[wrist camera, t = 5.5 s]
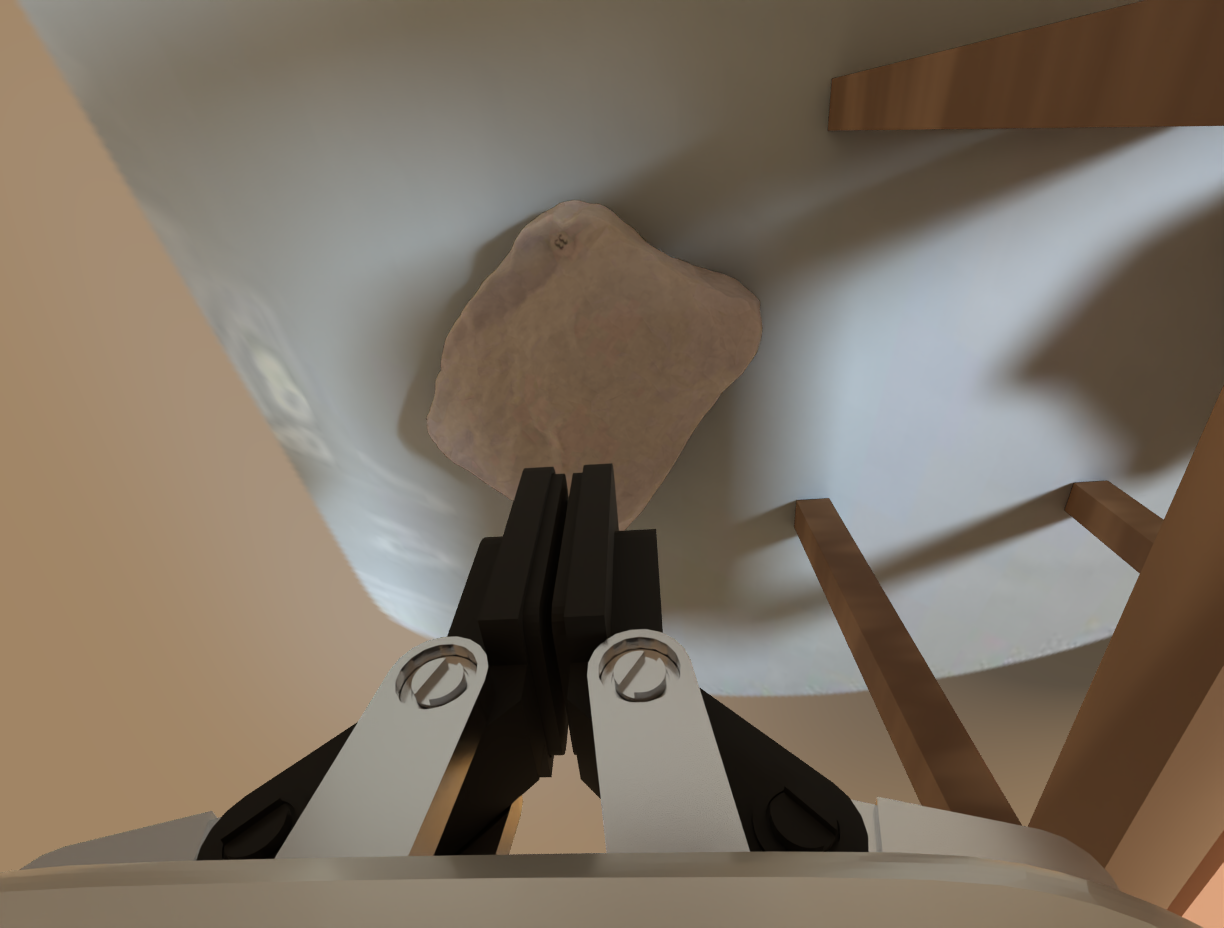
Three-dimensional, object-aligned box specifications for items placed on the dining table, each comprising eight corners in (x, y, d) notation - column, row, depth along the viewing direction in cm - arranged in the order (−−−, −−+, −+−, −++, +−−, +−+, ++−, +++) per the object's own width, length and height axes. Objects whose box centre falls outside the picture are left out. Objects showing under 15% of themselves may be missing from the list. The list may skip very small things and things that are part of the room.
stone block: (439, 410, 28) (622, 522, 28) (386, 444, 23) (605, 576, 24) (559, 162, 23) (774, 302, 24) (523, 146, 19) (789, 318, 19)
